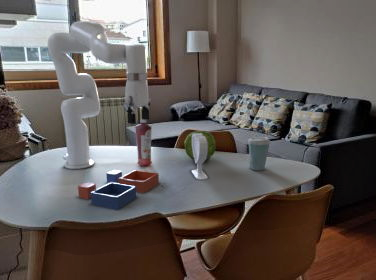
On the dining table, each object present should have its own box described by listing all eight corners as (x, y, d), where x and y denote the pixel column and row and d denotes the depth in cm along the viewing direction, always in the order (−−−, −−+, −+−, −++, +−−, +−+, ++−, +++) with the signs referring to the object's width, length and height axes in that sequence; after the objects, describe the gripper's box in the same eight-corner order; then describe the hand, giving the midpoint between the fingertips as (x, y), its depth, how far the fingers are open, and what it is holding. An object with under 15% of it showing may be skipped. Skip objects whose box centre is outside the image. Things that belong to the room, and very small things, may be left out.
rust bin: (119, 188, 141) (118, 178, 140) (135, 179, 151) (135, 169, 150) (143, 193, 137) (143, 182, 136) (158, 183, 147) (158, 173, 146)
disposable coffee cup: (243, 169, 167) (244, 138, 164) (250, 163, 177) (252, 134, 174) (265, 173, 164) (266, 141, 160) (271, 166, 173) (273, 136, 170)
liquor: (144, 168, 165) (142, 109, 159) (133, 166, 169) (131, 107, 162) (155, 164, 171) (154, 107, 165) (144, 162, 175) (142, 105, 168)
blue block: (106, 183, 147) (106, 172, 146) (113, 179, 151) (113, 169, 150) (115, 184, 145) (115, 174, 144) (122, 181, 149) (121, 171, 148)
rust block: (78, 197, 132) (77, 186, 131) (87, 193, 136) (86, 182, 135) (88, 199, 130) (87, 187, 129) (96, 194, 135) (95, 183, 133)
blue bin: (91, 204, 126) (90, 192, 125) (111, 193, 136) (110, 182, 135) (117, 209, 122) (117, 197, 121) (136, 197, 133) (136, 186, 132)
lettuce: (216, 158, 194) (211, 130, 195) (220, 156, 173) (215, 126, 174) (186, 163, 191) (182, 135, 192) (187, 162, 171) (182, 131, 172)
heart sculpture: (190, 169, 166) (190, 131, 162) (200, 168, 168) (200, 131, 164) (197, 180, 152) (197, 139, 148) (209, 179, 154) (209, 138, 149)
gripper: (140, 76, 146) (142, 117, 150) (114, 78, 130) (117, 124, 134) (157, 76, 143) (158, 118, 148) (132, 79, 127) (134, 126, 132)
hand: (138, 121), depth 141 cm, fingers open, 9 cm apart
